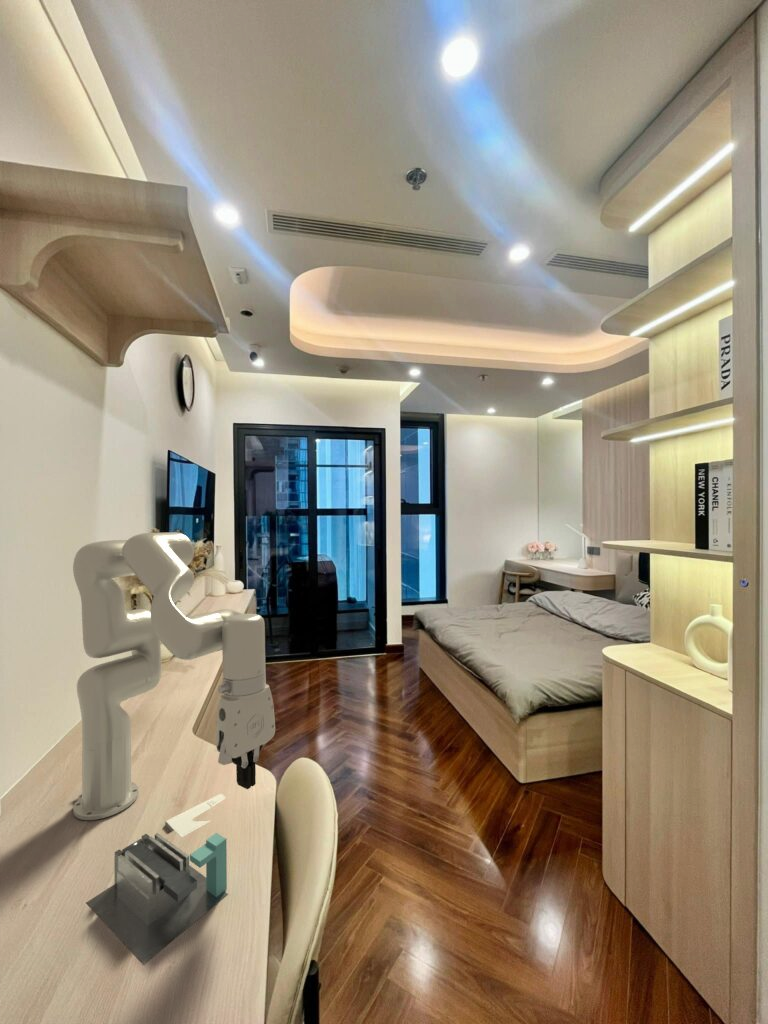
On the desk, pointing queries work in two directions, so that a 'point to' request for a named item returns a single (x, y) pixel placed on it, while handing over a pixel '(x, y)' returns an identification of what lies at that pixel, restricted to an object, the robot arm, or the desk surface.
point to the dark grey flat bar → (164, 871)
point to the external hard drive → (191, 817)
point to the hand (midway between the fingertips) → (246, 784)
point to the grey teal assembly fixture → (150, 901)
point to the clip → (213, 863)
